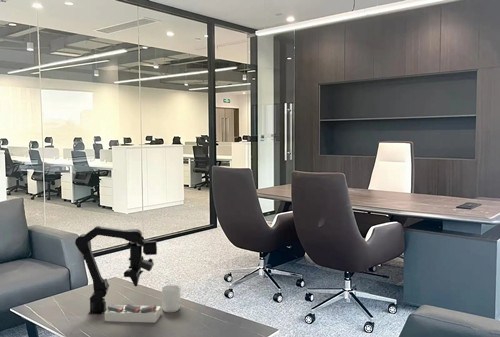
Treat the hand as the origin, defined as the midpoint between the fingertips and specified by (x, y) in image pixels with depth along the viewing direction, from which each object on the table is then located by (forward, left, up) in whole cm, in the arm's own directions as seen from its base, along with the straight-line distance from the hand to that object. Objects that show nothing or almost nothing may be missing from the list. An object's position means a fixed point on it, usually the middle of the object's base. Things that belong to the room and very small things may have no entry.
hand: (135, 286), depth 214 cm
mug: (+18, +3, -12) cm, 22 cm away
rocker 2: (+2, -12, -7) cm, 14 cm away
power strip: (+2, -10, -12) cm, 16 cm away
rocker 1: (-6, -12, -7) cm, 15 cm away
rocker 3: (+10, -12, -7) cm, 17 cm away
